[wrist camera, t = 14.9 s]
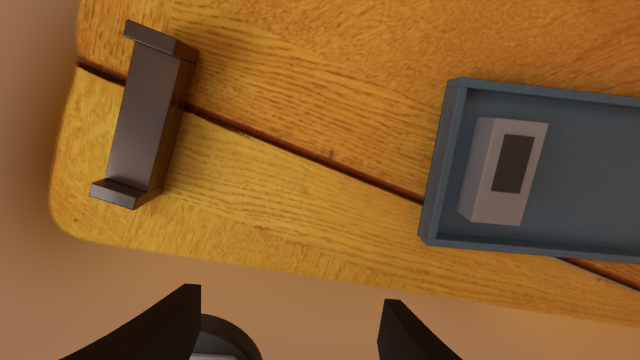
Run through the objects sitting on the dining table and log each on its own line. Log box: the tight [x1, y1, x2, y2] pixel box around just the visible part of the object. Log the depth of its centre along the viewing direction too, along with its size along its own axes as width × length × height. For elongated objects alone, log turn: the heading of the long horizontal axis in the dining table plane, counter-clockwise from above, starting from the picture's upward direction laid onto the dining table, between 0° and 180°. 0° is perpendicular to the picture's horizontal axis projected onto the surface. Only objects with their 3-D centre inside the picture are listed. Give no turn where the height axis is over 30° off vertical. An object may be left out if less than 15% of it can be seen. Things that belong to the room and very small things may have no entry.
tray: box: [418, 77, 640, 264], centre depth 19 cm, size 10×26×2 cm, turn 84°
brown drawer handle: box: [89, 20, 200, 210], centre depth 16 cm, size 9×2×3 cm, turn 159°
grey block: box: [456, 117, 548, 226], centre depth 17 cm, size 6×3×2 cm, turn 174°
